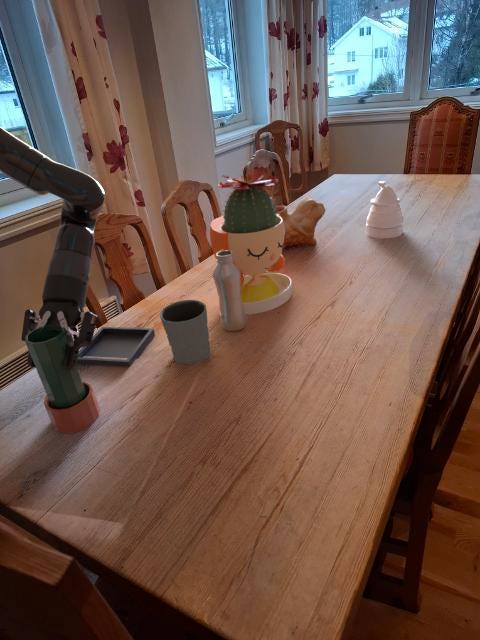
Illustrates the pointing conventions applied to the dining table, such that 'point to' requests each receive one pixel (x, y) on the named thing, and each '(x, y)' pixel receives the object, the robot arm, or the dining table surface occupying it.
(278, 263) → the potted cactus
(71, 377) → the tall cup
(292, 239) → the tan lumpy piece
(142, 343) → the tray
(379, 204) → the honey pot
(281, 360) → the dining table surface
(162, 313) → the grey cup
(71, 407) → the short cup
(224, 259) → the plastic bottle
